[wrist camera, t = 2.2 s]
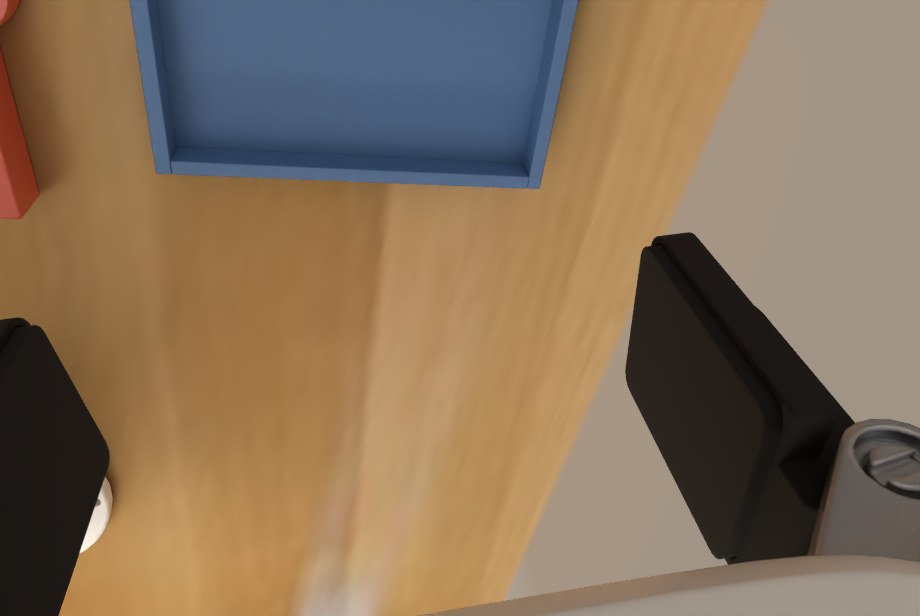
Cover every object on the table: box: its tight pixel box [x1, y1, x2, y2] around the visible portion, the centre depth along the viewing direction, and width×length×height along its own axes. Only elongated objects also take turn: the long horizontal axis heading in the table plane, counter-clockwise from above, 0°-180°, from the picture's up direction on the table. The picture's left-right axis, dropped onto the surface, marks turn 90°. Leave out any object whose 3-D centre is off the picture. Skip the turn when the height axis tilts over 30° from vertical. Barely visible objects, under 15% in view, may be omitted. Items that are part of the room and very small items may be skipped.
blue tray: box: [130, 0, 579, 189], centre depth 27 cm, size 16×10×2 cm, turn 83°
